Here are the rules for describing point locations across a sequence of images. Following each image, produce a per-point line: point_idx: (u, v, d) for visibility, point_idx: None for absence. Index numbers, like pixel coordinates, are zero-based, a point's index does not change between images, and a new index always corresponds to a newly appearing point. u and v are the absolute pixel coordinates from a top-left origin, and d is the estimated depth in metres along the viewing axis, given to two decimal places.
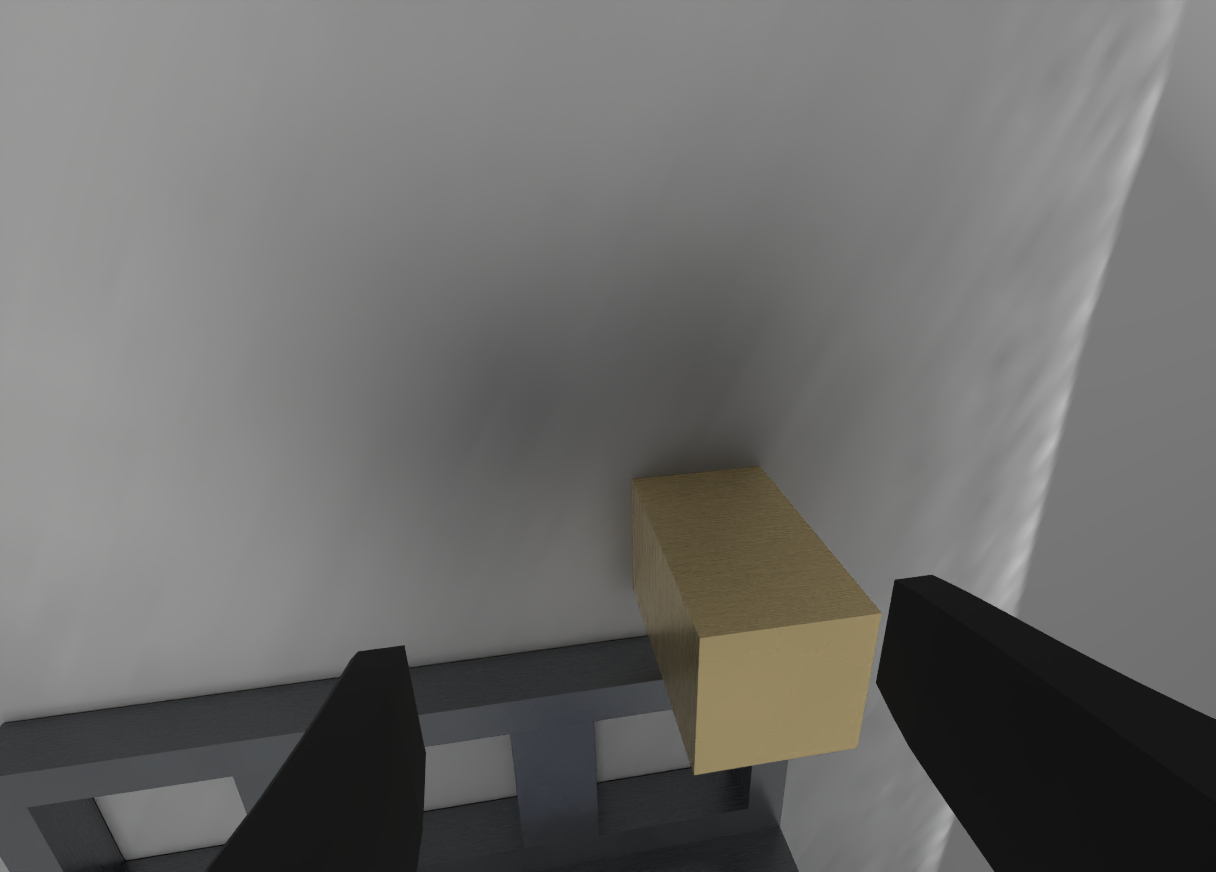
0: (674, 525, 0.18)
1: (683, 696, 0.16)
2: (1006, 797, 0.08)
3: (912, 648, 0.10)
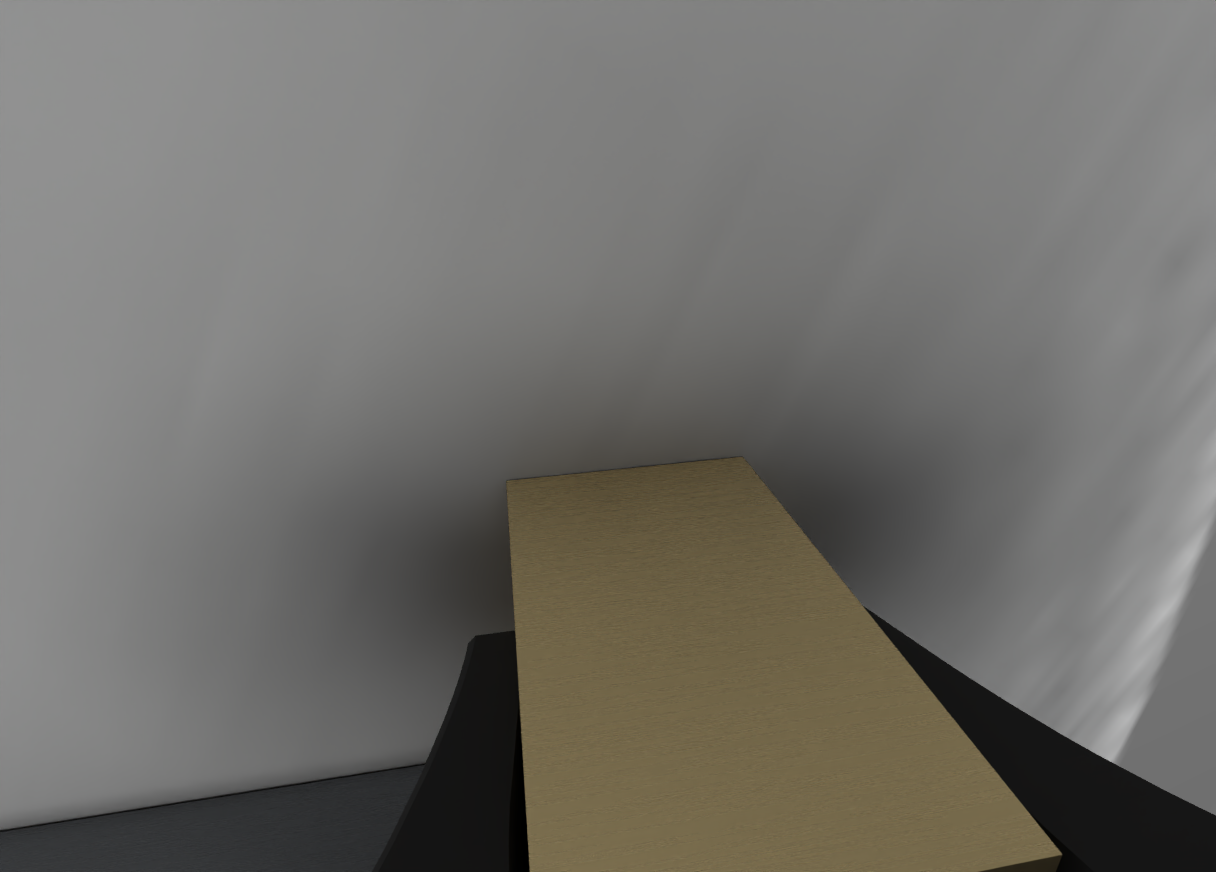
0: (559, 577, 0.08)
1: None
2: None
3: None
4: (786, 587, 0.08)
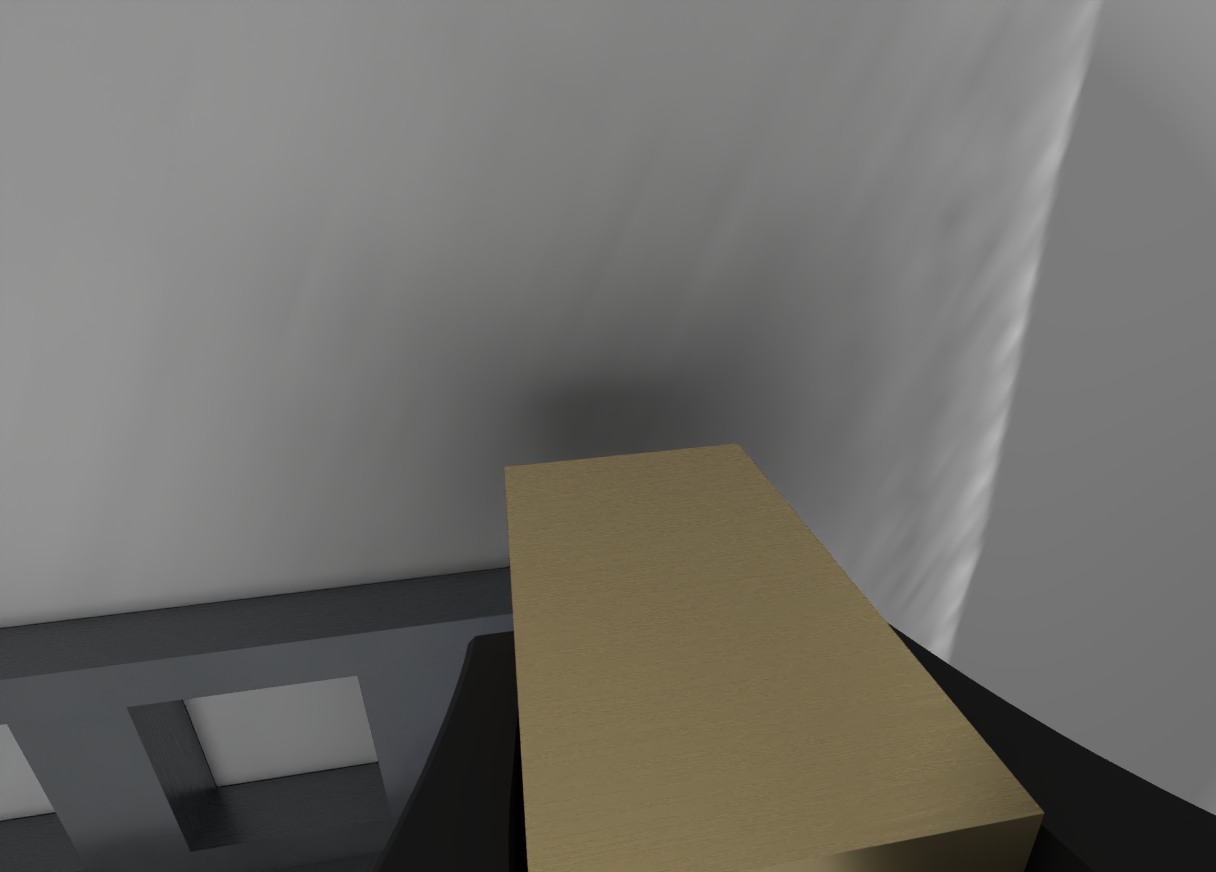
0: (555, 557, 0.09)
1: None
2: None
3: None
4: (779, 566, 0.08)
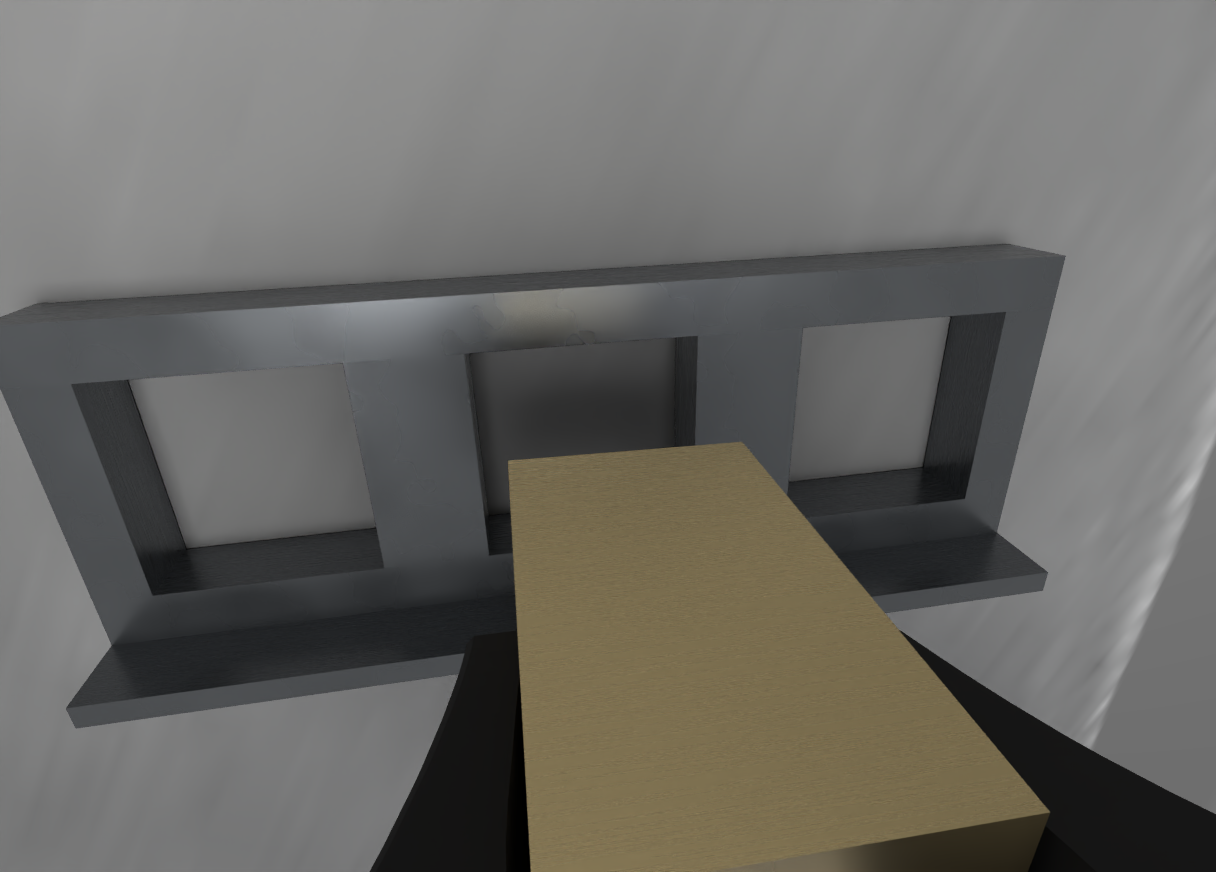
0: (559, 551, 0.09)
1: None
2: None
3: None
4: (783, 563, 0.08)
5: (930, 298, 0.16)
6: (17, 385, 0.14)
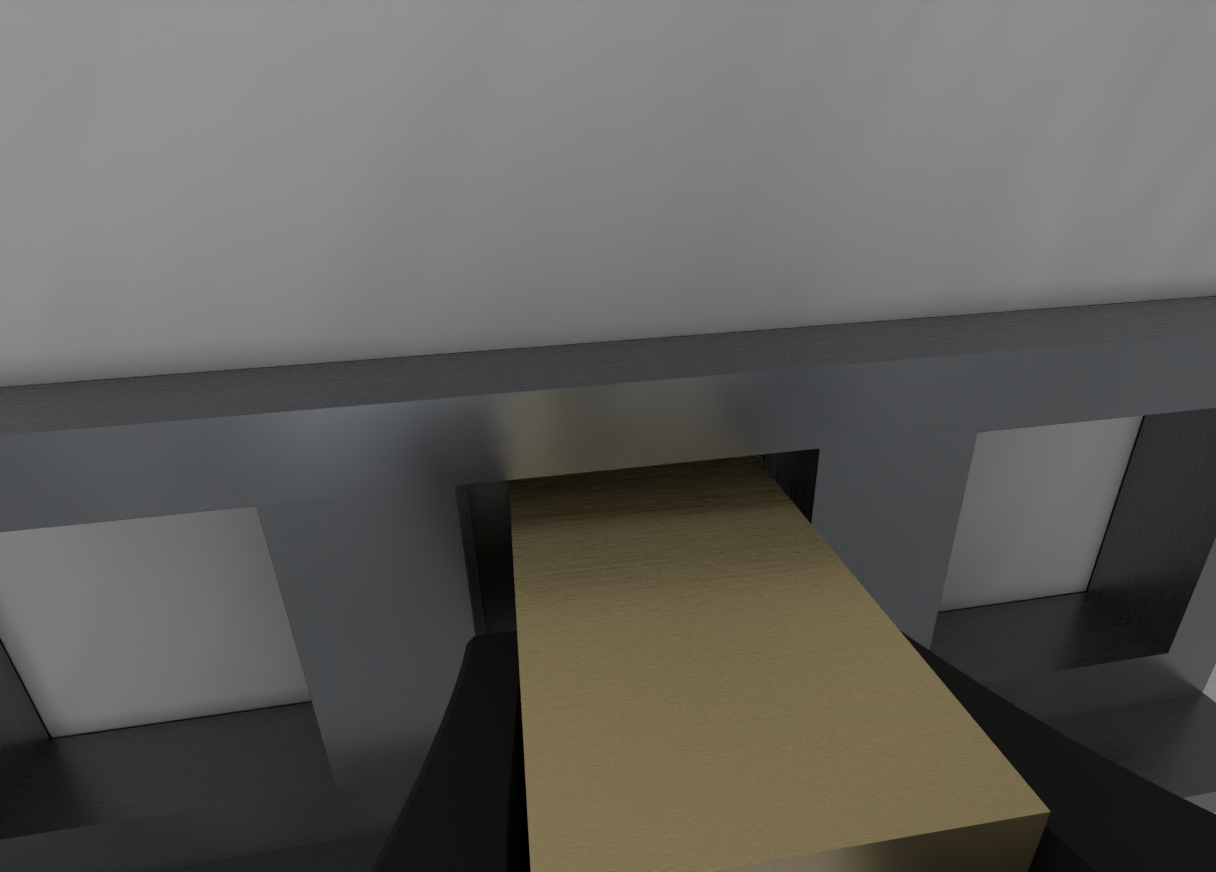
0: (559, 550, 0.09)
1: None
2: None
3: None
4: (783, 563, 0.08)
5: (1167, 385, 0.11)
6: None
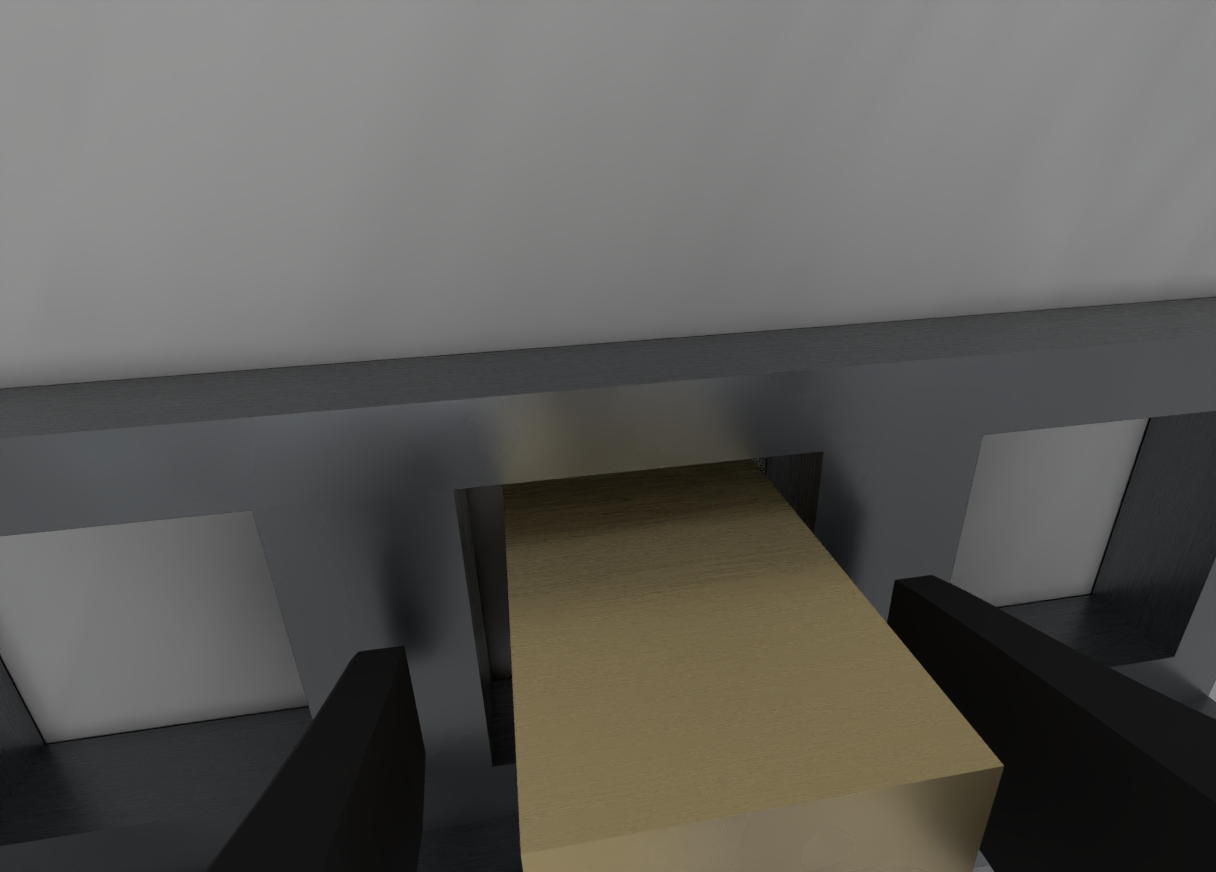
0: (550, 537, 0.09)
1: None
2: (1006, 797, 0.08)
3: (912, 648, 0.10)
4: (764, 545, 0.09)
5: (1176, 387, 0.10)
6: None
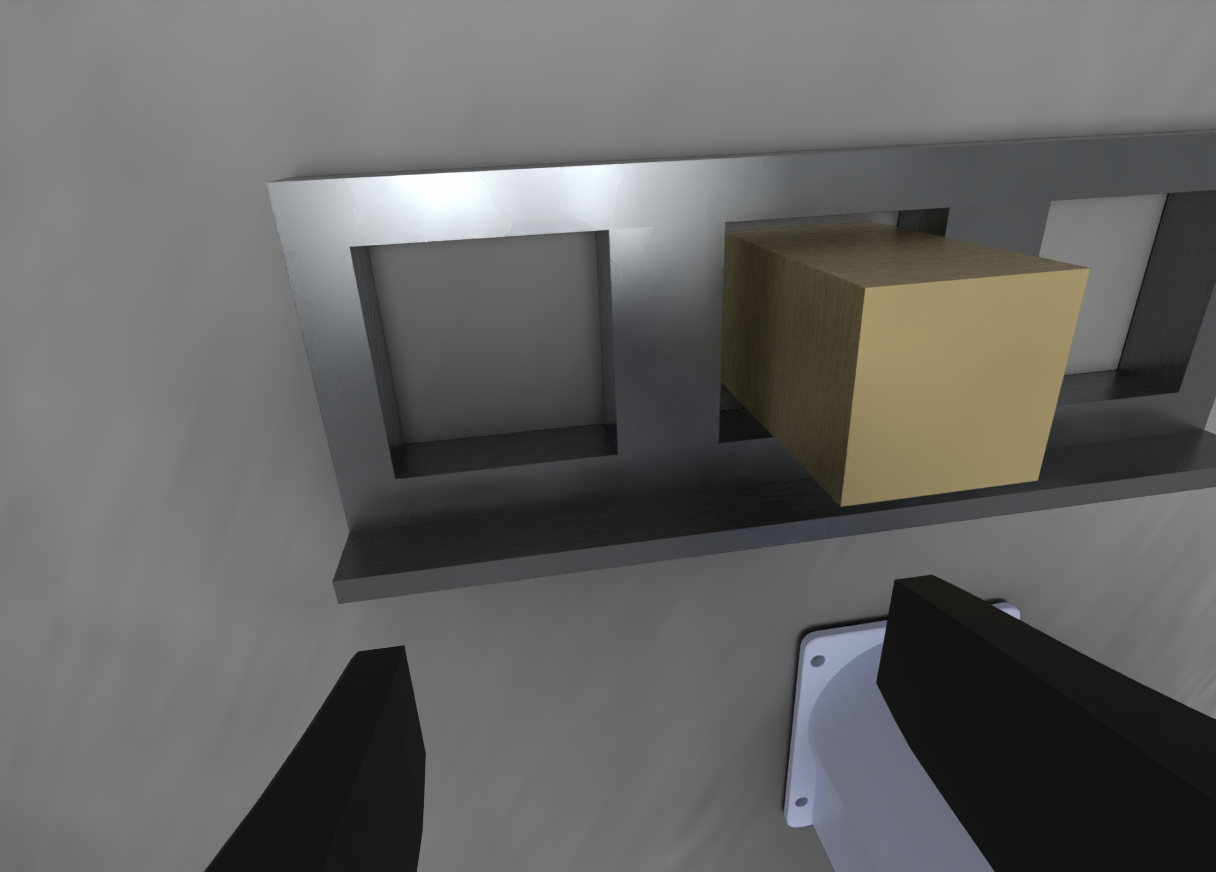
0: (790, 246, 0.14)
1: (822, 416, 0.13)
2: (1006, 797, 0.08)
3: (912, 648, 0.10)
4: (925, 242, 0.14)
5: (1177, 171, 0.16)
6: (298, 247, 0.14)
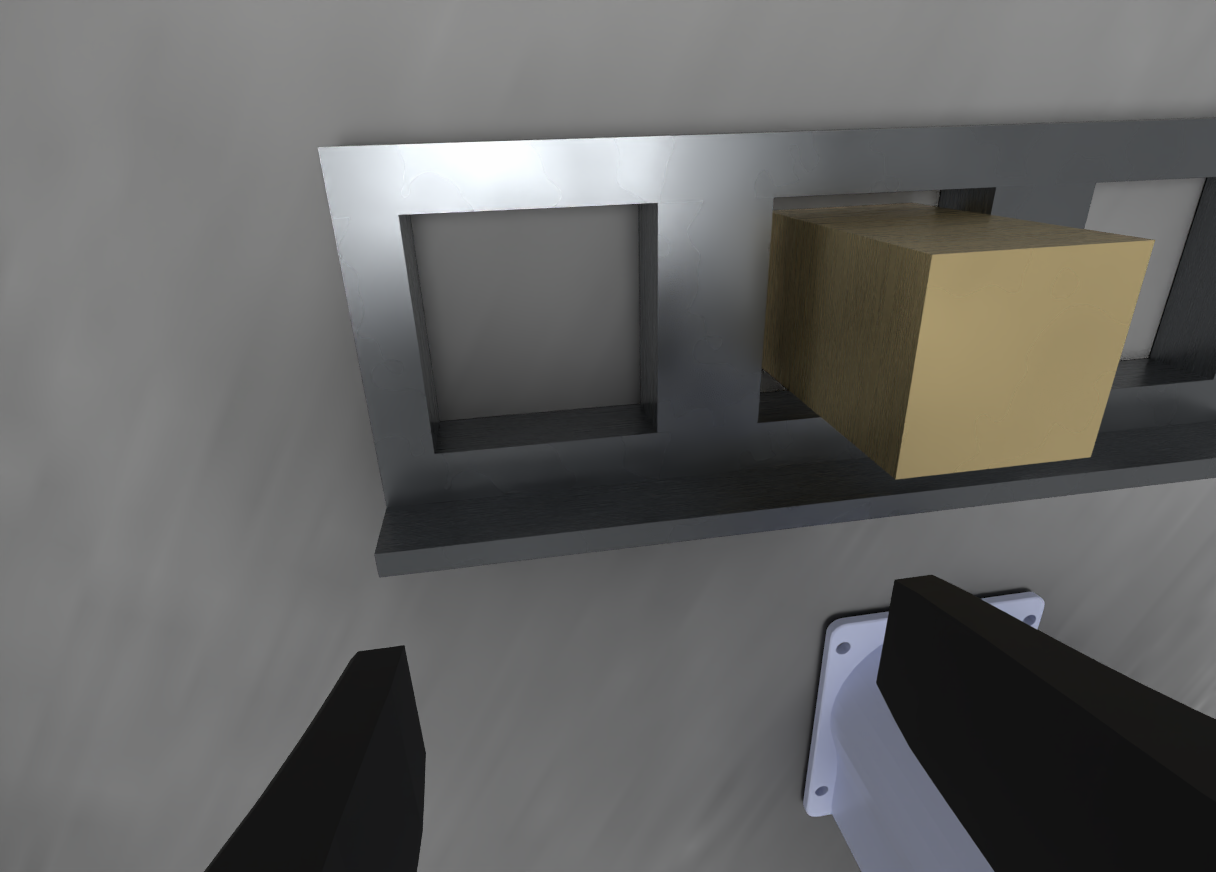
0: (839, 221, 0.14)
1: (876, 388, 0.12)
2: (1006, 797, 0.08)
3: (912, 648, 0.10)
4: (976, 219, 0.14)
5: None
6: (347, 214, 0.13)
